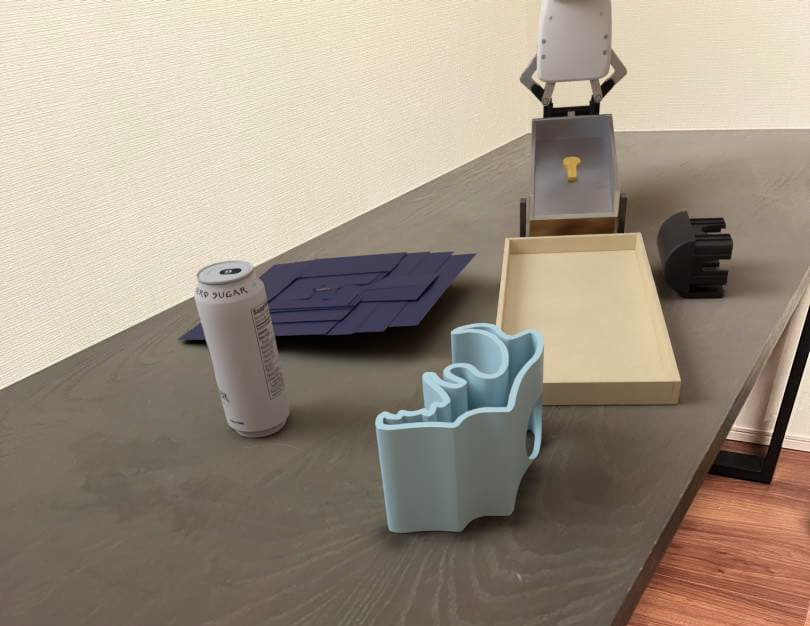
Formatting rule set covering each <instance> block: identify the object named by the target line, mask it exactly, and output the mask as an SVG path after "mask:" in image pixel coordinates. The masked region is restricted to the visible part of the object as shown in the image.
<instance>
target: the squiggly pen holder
mask: <svg viewBox="0 0 810 626" xmlns="http://www.w3.org/2000/svg"><path fill="white" fill-rule="evenodd" d="M450 341H451V360H452V361H451V362H452V364H449V365H447V366H446V367H445V368H444V369H443V370H442V379H441V378H440V377H439V375H438V374H437V373H436V372H433V371H426V372H423V374H422V377H421V380H422V393H423V394H422V395H423V406H424V407H423V408H421V409H417V410H412V411H411V410H406V409H400V410H399V411H398V412H397V413H396V414H393V413H392V412H389V411H386V410H385V411H382V412H380V413H379V414H378V415H376V418H375V421H374V424H375V433H376V440H377V449H378V457H379V465H380V473H381V480H382V488H383V498H384V504H385V513H386V519H387V520H386V521H387V527H388V530H389V532H392V533H397V534H406V533H418V532H434V531H435V532H436V531H437V532H439V531H441V532H442V531H443V532H452V533H453V532H455V533H460V532H463V531H464V529H465V528H466V527H467V526H468V524H469V523H471V522H472V521H473V520H476V519H478V518H481V517H485V516H486V517H509V516H511V515H512V514H513V512H514V511H515V506H516V499H517V495H518V491H519V487H520V484H521V481H522V478H523V476H524V475H525V473H526V472H527V470H528V469H529V467H530V466H531V465H532V463H534V461H535V460H536V459H537V457H538V455H539V453H540V450H541V444H542V434H543V433H542V432H543V430H542V429H543V427H542V426H543V422H542V421H543V420H542V419H543V417H542V415H543V405H542V398H543V366H544V338H543V336H542V334H541V333H540V332H539V331H537V330H534V329H527V330H525V331H522V332H520V333H518V334H515V335H512V336H510V335H507V334H505V333H504V332H503V331H502V330H501V329H500V328H499V327H498V326H496V324H494V323H488V322H477V323H471V324H465V325H461V326H459V327H456V328H454V329H453V330H451V332H450ZM528 430H529V431H530V432H532V433H533V435H534V444H533V449H532V452H531V454H530V456H528V454H527V446H526V442H527V432H528Z"/></svg>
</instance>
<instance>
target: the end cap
mask: <svg viewBox="0 0 810 626" xmlns="http://www.w3.org/2000/svg"><path fill="white" fill-rule="evenodd" d="M726 228H727V223H726V220H725V218H724V217H721V216H720V217H694V218H693V217H692V218H691V217H690V216H689V213H688V211H687V210H683V211H679V212H676V213H674V214H672V215H671V216H669V217H668V218H667V219H665V220H664V221H663V223H662V224H661V226H660V228H659V229H658V232H657V235H656V247H657V251H658V257H659V261H660V267H661V271H662V276H663V277H662V278H663V279H664V282H665V283H666V284H667V286H668V288H670V289H671V290H673V291H674V292H675V293H676V294H677V295H679V296H680V297H682V298H687V299H709V298H710V299H713V298H715V299H717V298H722V297H724V296H725V288H724V286H726V285H727V284H728V279H729V274H730V273H729V272H730V270H729V269H718V268H720V265H721V263H720V262H721V261H725V260H726V261H728V260H729V261H730V260H732V257H733V251H734V240H733V238H732V235H731V233H728V232H727V233H721V232H722V230H725V229H726Z"/></svg>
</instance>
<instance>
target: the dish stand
mask: <svg viewBox="0 0 810 626" xmlns="http://www.w3.org/2000/svg"><path fill="white" fill-rule="evenodd" d="M627 210H628V195H627V193H626V192H620V199H619V209H618V217H617V226H616V217H600V218H577V219H554V220H531V221H529V237H543V236H568V235H593V234H615V230H616V234H618V233H626V232H625V231H626V221H627ZM615 226H616V229H615ZM519 237H527V197H521V198H520V199H519Z"/></svg>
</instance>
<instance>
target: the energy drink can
mask: <svg viewBox="0 0 810 626" xmlns="http://www.w3.org/2000/svg"><path fill="white" fill-rule="evenodd" d="M195 277H196V280H197V283H196V288H195V291H194V295H193V297H194V301H195V306H196V309H197V313H198V317H199V320H200V323H201V324H202V328H203V332H204V335H205V339H204V340H205V342H206V346H207V351H208V355H209V358H210V361H211V366H212V369H213V373H214V377H215V380H216V385H217V389H218V392H219V395H220V399H221V403H222V406H223V411H224V414H225V418H226V422H227V424H228V426H229V427H230V428H231V429H233V430H234V431H235V432H236V433H237V434H238V435H240V436H242V437H245V438H262V437H267V436H270V435H272V434H275V433H277V432H279V431H280V430H281V429H282V428H283V427H284V426H285V425H286V423H287V419H288V417H289V416H290V413H291V411H290V410H291V409H290V404H289V400H288V399H289V398H288V394H287V390H286V385H285V380H284V376H283V371H282V370H283V369H282V366H281V360H280V356H279V351H278V346H277V340H276V336H274V331H273V326H272V321H271V316H270V311H269V307H268V302H267V297H266V292H265V287H264V284H263V282H262V281H261V279H260V278H259V277H260V276H259V275H257V273H256V272H255V271H254V265H253V264H252V263H251V262H249V261H245V260H234V259H233V260H225V261H218V262H215V263H212V264H209V265H207V266H204V267H202V268H201V269H200V270H198V271H197V273H196V275H195Z"/></svg>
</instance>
